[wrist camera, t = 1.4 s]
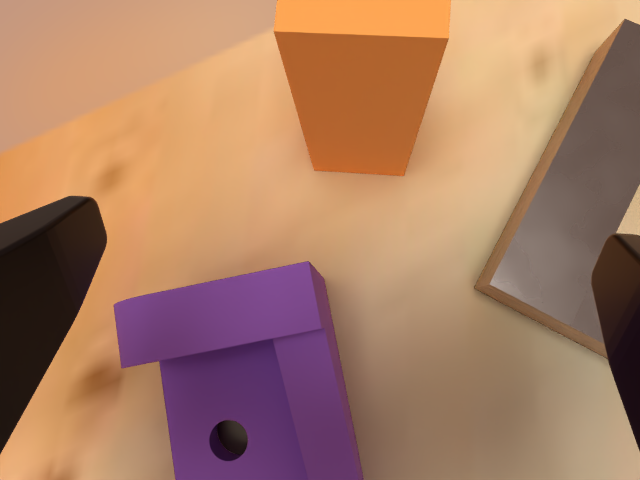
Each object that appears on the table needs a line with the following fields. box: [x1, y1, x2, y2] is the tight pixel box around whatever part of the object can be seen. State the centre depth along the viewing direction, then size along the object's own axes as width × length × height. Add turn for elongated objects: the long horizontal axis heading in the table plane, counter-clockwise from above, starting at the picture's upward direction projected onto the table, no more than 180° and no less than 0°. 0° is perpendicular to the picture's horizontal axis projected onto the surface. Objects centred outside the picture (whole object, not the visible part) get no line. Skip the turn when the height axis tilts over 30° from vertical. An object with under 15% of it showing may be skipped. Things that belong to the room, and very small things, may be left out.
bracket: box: [114, 261, 364, 480], centre depth 18 cm, size 12×7×7 cm, turn 11°
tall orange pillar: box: [274, 0, 451, 176], centre depth 17 cm, size 4×4×11 cm
